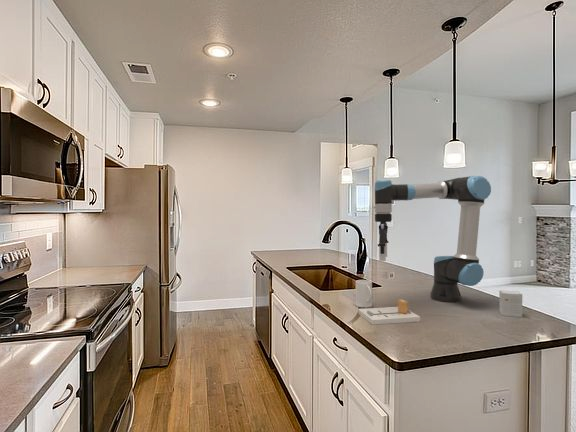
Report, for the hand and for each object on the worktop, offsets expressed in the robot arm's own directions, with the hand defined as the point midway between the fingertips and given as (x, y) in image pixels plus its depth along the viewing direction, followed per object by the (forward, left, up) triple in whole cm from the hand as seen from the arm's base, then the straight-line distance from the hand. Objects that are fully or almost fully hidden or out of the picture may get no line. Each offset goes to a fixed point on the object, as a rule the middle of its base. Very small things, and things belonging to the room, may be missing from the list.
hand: (383, 258), depth 164 cm
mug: (+4, -11, -25) cm, 28 cm away
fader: (-5, +9, -23) cm, 25 cm away
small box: (-55, +15, -25) cm, 62 cm away
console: (+1, +8, -25) cm, 26 cm away
